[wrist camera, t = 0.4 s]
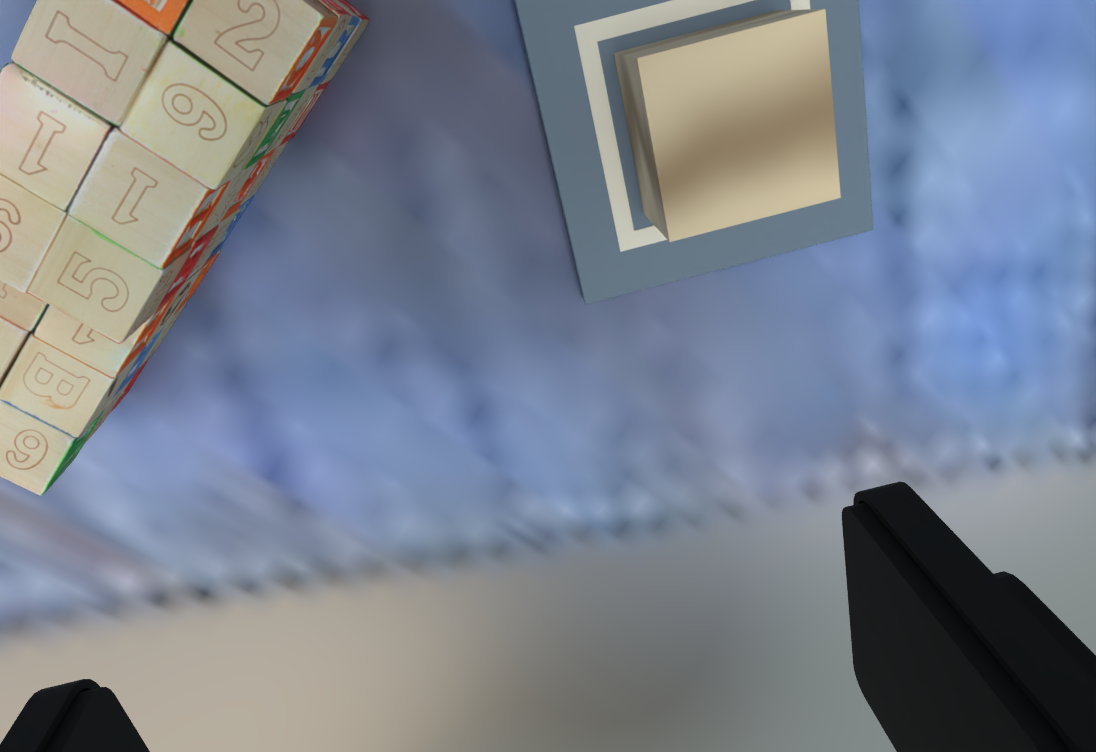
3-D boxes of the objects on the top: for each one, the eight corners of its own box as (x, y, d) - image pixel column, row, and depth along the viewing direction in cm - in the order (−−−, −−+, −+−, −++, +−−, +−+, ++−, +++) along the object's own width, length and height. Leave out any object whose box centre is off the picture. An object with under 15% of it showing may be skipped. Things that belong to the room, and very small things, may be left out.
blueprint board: (510, -16, 33) (511, -17, 32) (838, -102, 33) (852, -107, 32) (582, 296, 39) (586, 305, 38) (862, 224, 39) (874, 230, 38)
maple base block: (613, 52, 33) (637, 58, 29) (776, 10, 33) (825, 9, 29) (644, 214, 36) (669, 242, 32) (793, 175, 36) (840, 197, 32)
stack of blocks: (130, 396, 39) (-3, 548, 28) (2, 326, 37) (-199, 458, 26) (373, 16, 33) (327, 15, 22) (236, -91, 31) (109, -153, 20)
